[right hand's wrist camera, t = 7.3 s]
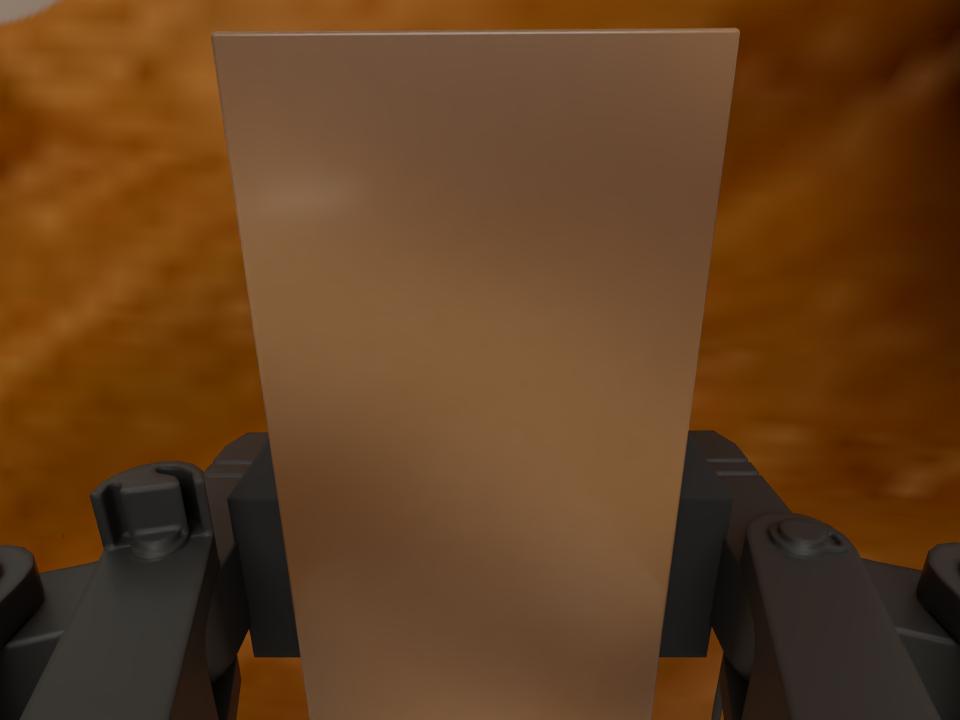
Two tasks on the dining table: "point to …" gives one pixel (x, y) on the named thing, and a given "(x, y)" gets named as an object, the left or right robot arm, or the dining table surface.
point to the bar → (477, 349)
